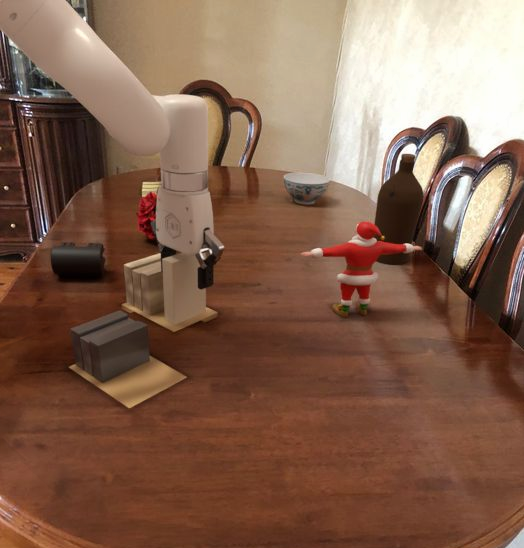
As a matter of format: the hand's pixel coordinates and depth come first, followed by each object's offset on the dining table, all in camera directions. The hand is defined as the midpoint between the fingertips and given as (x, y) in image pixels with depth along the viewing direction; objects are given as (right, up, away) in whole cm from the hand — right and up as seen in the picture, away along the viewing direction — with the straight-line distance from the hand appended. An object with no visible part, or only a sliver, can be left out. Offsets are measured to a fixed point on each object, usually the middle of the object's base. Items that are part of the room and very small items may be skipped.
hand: (187, 278), depth 93 cm
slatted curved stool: (-18, +39, +81) cm, 92 cm away
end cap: (-26, +3, +20) cm, 33 cm away
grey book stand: (-7, -17, -12) cm, 22 cm away
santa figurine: (+31, -5, +12) cm, 34 cm away
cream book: (-1, -6, +4) cm, 8 cm away
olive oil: (+46, +11, +40) cm, 61 cm away
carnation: (-12, +20, +49) cm, 54 cm away
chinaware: (+27, +36, +81) cm, 92 cm away
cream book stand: (-4, -6, +7) cm, 10 cm away
